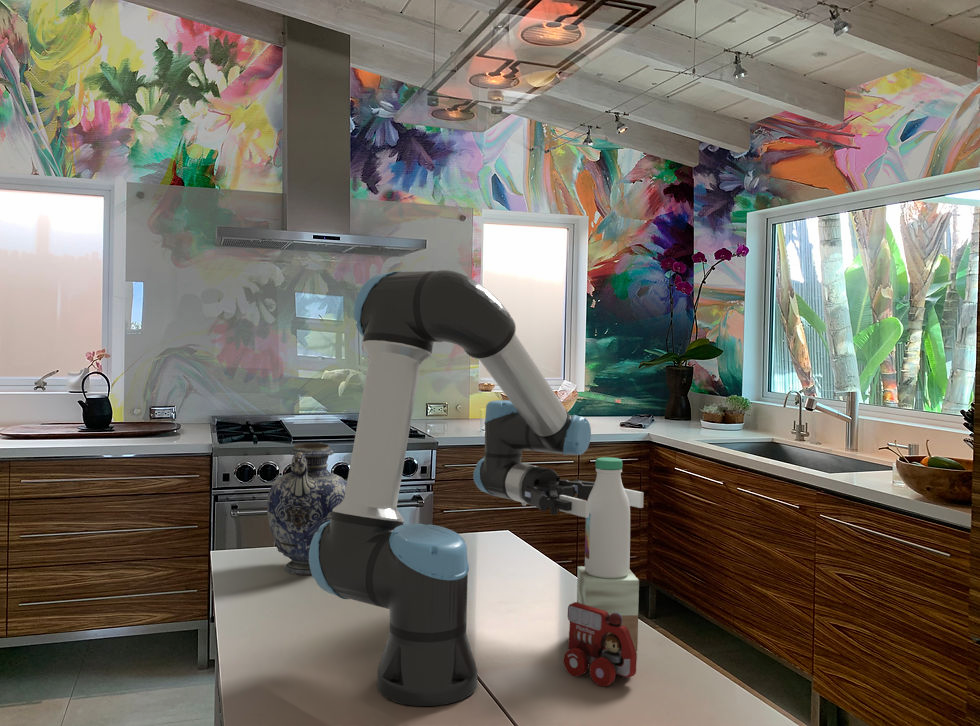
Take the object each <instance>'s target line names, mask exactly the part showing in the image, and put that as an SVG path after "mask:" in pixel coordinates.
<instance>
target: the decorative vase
mask: <svg viewBox="0 0 980 726" xmlns="http://www.w3.org/2000/svg"><path fill="white" fill-rule="evenodd" d="M289 454H290V455H291V456H292V458H291V467H290V472H288V473H286V474H283V475H282V476H280V477H279V478H278V479H276V480H275V482H274V483H273V484H272V485H271V487H270V489H269V491H268V495H267V503H266V505H267V506H266V507H267V520H268V525H269V528H270V531H271V533H272V537H273V542H274V543H275V546H276V549H277V551H278V552H279V553H281V554H282V555H283V556H284V557H287V558H289V559H290V560H291V561H289V562H287V563H286V564H285V566H284V571H285V572H286V573H288V574H290V575H294V574H296V575H297V576H312V573H311V570H310V565H309V550H310V544H311V541H312V539H313V536H314V534H315V533H316V532H318V531H319V528H320V526H321V525H322V524H324V523H325V522H328V521H330V520H331V515H332V510H333V508H335V507H336V506H337V505H339V504H340V503H341V502H342V501H343V500H344V497H345V491H346V486H347V481H346V480H345V479H344V478H343V477H342V476H340V475H337V474H335V473H332V472H330V471H329V470H328V469H327V468H328V467H329V466H328V463H327V462H328V461H329V460H328V459H329V456H333V455H334V450H332V449H331V448H330V445H329V444H326V443H323V442H318V443H316V442H312V443H311V442H306V443H305V442H303V443H297V444H296V443H295V444H294V445H293V448H291V449H290V450H289ZM296 575H295V576H296Z"/></svg>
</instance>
